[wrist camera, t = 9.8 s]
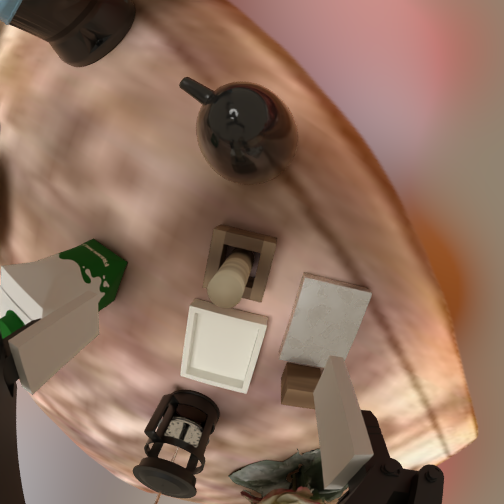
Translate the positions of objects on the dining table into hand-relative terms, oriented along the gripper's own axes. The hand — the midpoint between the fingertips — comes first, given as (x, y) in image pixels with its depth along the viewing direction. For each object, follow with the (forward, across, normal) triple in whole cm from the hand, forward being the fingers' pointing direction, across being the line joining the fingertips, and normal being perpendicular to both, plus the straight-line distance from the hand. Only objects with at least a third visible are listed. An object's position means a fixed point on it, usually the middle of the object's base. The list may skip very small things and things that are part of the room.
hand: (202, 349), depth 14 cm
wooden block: (+21, -11, +16) cm, 29 cm away
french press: (+22, +4, +28) cm, 36 cm away
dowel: (+22, 0, 0) cm, 22 cm away
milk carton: (+22, +20, +7) cm, 31 cm away
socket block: (+22, 0, 0) cm, 22 cm away
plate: (+22, -12, +6) cm, 26 cm away
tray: (+21, +1, +13) cm, 25 cm away
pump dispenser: (+22, +2, -14) cm, 26 cm away
